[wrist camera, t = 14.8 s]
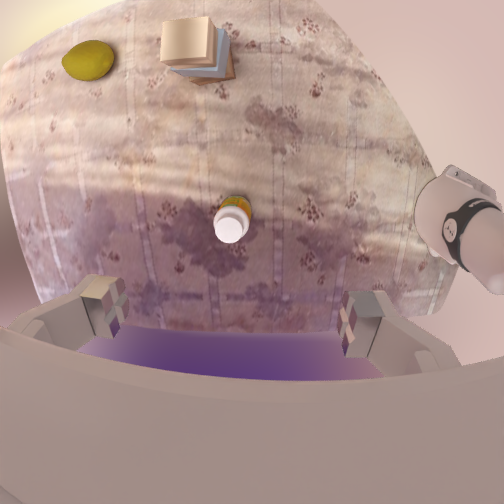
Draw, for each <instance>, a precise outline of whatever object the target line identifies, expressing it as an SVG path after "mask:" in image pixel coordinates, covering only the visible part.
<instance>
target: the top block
mask: <svg viewBox="0 0 504 504" xmlns="http://www.w3.org/2000/svg"><path fill="white" fill-rule="evenodd" d="M217 31H218V46H217V65H216V67H206V68H189V69H178V70H177V69H175V68H173V67H171V70H172V71H174V72H176V73H178V74H180V75H182V76H189V77H214V78H225V73H226V67H227V60H228V54H229V48H230V42H231V41H230V39H229V37H228V35H227V33H226V31H225V29H217Z"/></svg>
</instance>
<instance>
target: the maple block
mask: <svg viewBox="0 0 504 504" xmlns="http://www.w3.org/2000/svg"><path fill="white" fill-rule="evenodd" d="M217 46H218V31H217V29H216V27H215V26H214V24H213V23H212V21H211V19H210V18H209V16H207V17H195V18H186V19H178V20H170V21H164V22H163V27H162V38H161V51H160V61H161V62H163V63H165V64H167V65H169V66H171V67H173V68H175V69H177V70H178V69H189V68H206V67H216V65H217Z"/></svg>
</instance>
